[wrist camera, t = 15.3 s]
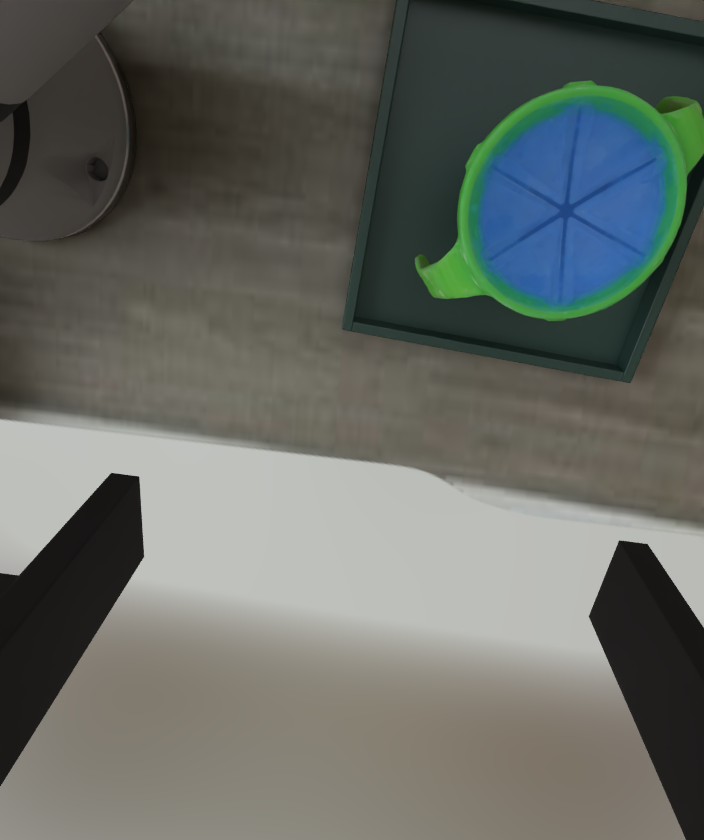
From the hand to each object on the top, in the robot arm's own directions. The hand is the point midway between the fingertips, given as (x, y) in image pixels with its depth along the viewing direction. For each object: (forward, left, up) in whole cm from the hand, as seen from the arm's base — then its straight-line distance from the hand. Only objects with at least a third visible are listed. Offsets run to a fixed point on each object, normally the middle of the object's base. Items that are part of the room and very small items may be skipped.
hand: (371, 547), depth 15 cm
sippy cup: (-5, +11, -27) cm, 29 cm away
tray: (-5, +11, -27) cm, 29 cm away
